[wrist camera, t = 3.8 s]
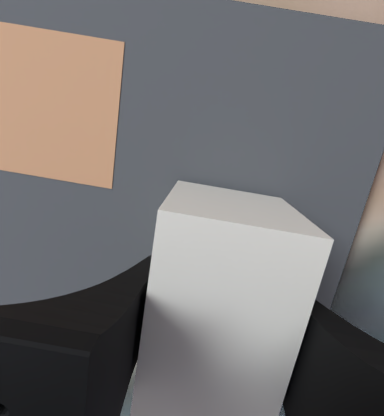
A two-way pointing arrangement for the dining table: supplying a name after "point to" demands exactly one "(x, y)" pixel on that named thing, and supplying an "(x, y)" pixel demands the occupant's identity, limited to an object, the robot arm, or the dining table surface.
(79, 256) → the mat
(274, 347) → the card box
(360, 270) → the dining table surface
